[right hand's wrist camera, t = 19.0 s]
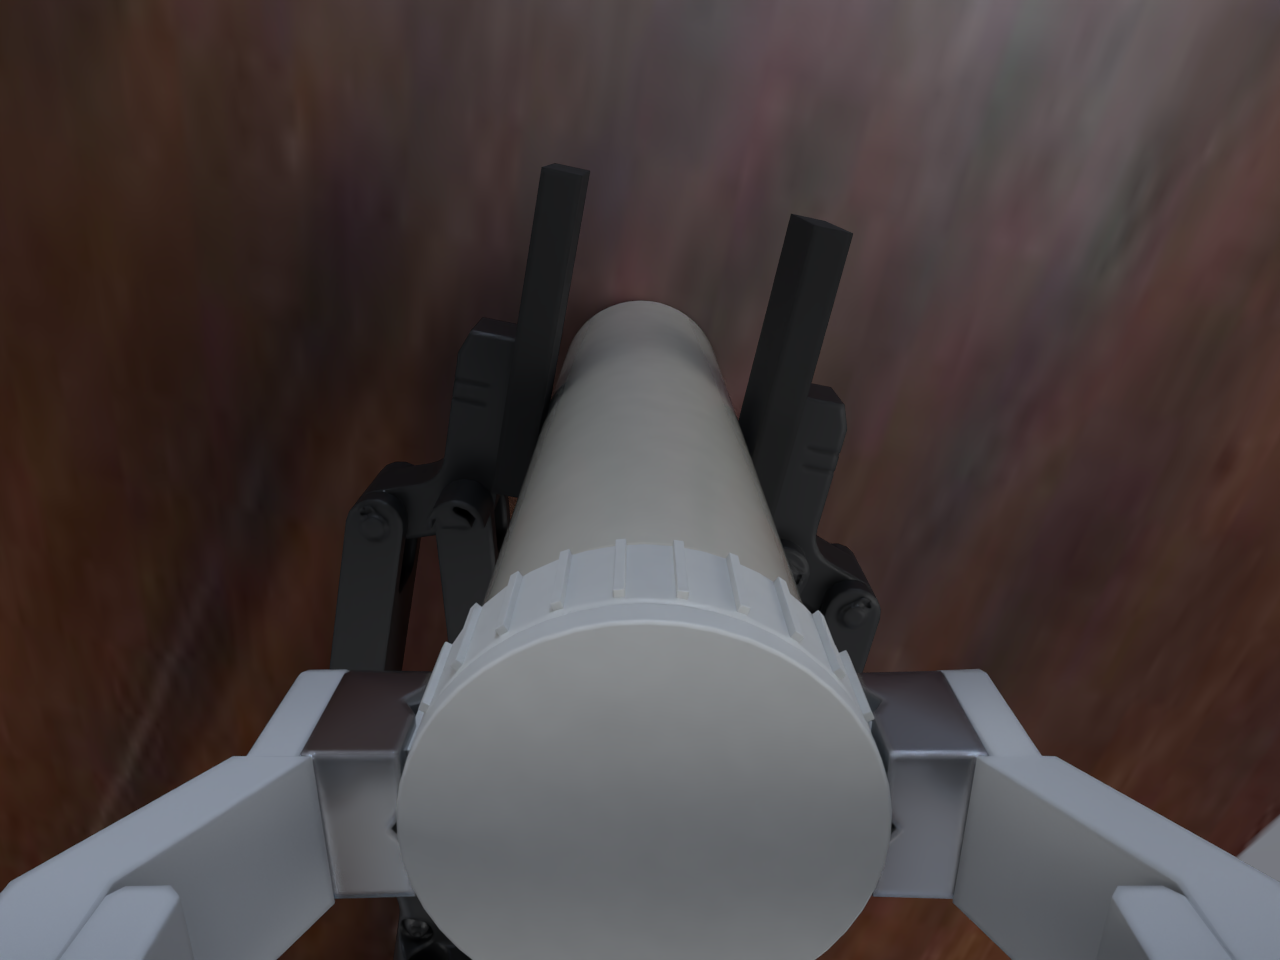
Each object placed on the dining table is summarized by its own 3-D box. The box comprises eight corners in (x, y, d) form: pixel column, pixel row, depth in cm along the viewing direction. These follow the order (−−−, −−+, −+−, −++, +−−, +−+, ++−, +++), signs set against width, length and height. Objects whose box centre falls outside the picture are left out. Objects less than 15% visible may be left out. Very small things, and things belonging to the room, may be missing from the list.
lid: (472, 484, 9) (438, 554, 8) (926, 597, 10) (982, 687, 8) (391, 851, 11) (350, 969, 9) (780, 931, 11) (802, 1057, 10)
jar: (729, 311, 25) (902, 637, 8) (704, 458, 26) (811, 973, 10) (571, 290, 24) (440, 584, 8) (556, 440, 26) (421, 935, 10)
